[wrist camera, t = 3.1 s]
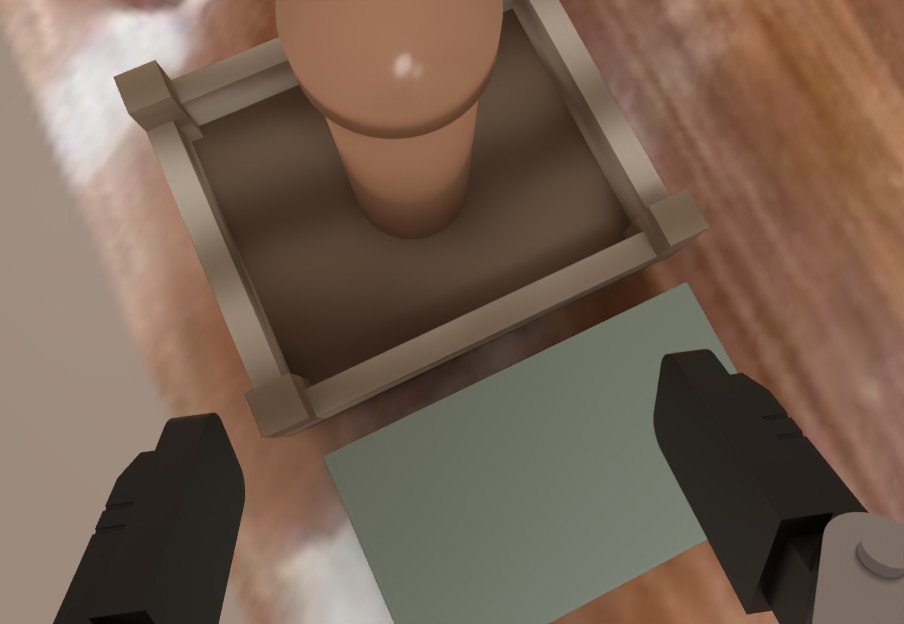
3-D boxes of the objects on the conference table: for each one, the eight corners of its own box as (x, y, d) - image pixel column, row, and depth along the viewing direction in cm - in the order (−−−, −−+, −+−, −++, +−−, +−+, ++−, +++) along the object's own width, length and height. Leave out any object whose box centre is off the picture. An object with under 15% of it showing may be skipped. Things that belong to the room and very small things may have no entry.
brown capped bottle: (385, 103, 28) (346, -125, 17) (498, 159, 28) (541, -34, 16) (321, 210, 27) (232, 48, 16) (439, 270, 27) (437, 150, 15)
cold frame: (158, 124, 29) (113, 77, 25) (516, -23, 30) (527, -90, 27) (289, 436, 26) (262, 438, 22) (672, 255, 28) (709, 227, 24)
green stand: (336, 452, 26) (322, 456, 23) (660, 297, 28) (686, 281, 25) (424, 658, 25) (422, 690, 22) (761, 481, 26) (802, 489, 23)
